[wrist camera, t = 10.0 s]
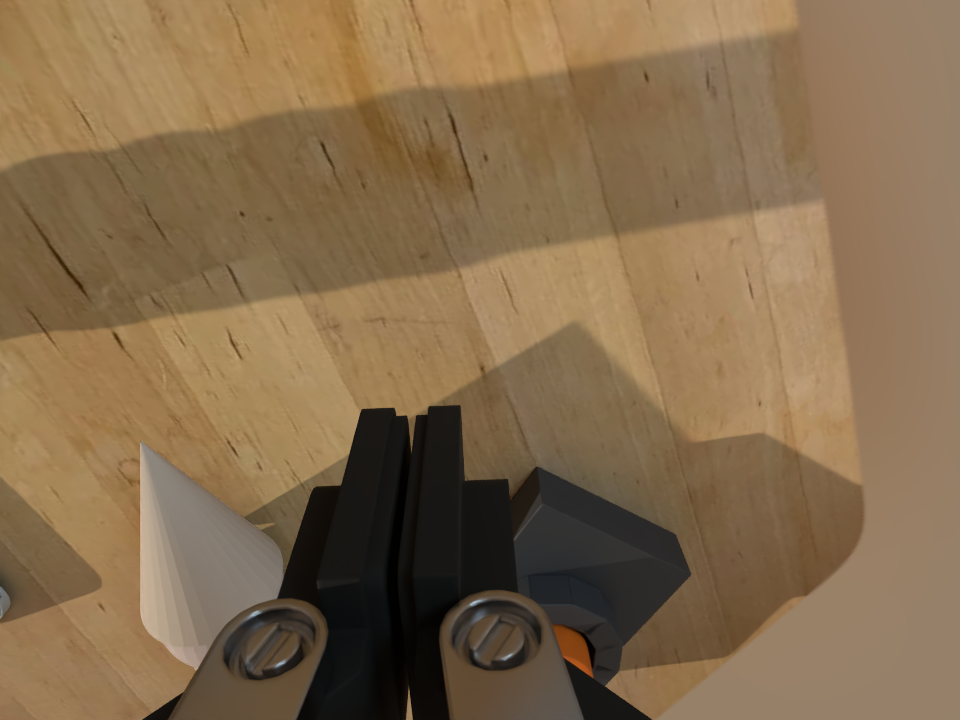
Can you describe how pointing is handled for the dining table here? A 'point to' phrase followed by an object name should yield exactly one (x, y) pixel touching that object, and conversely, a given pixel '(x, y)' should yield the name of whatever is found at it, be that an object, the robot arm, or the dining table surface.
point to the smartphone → (4, 602)
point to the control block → (592, 565)
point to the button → (573, 647)
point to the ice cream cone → (196, 560)
